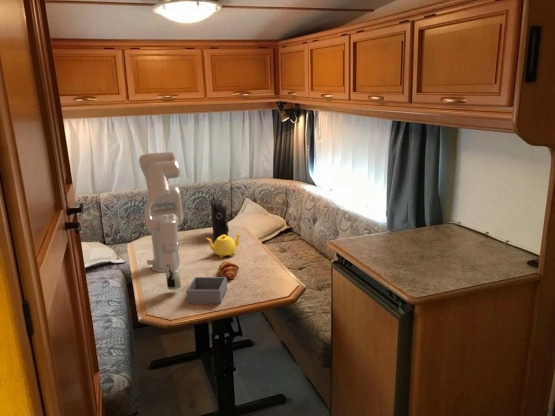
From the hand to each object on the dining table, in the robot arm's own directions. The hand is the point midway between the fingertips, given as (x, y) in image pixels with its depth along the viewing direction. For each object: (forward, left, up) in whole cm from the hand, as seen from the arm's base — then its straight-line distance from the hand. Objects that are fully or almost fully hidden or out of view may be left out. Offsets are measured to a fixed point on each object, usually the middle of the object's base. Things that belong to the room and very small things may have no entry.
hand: (173, 283), depth 208 cm
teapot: (+13, +50, -5) cm, 52 cm away
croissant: (+21, +22, -5) cm, 31 cm away
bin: (+16, -4, -4) cm, 17 cm away
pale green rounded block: (0, 0, -2) cm, 2 cm away
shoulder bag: (+4, +81, -5) cm, 82 cm away
